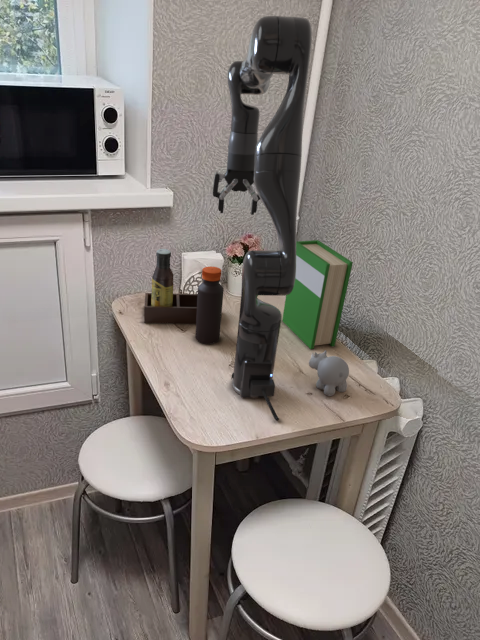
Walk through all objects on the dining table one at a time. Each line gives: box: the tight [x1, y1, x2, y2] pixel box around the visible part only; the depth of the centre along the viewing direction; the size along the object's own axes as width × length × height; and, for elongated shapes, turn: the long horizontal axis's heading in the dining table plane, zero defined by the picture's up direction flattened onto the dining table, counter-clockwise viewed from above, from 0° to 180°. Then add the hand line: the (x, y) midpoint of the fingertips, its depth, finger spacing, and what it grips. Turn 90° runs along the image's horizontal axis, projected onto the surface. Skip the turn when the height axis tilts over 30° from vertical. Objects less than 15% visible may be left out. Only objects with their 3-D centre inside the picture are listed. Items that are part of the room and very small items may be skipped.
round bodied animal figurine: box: [308, 349, 350, 397], centre depth 125 cm, size 7×12×8 cm, turn 24°
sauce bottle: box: [151, 248, 174, 307], centre depth 150 cm, size 6×6×20 cm
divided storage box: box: [143, 292, 198, 325], centre depth 154 cm, size 10×19×5 cm, turn 92°
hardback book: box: [281, 239, 354, 350], centre depth 143 cm, size 18×7×24 cm, turn 18°
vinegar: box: [194, 265, 224, 345], centre depth 139 cm, size 7×7×20 cm
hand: (237, 213), depth 146 cm, fingers open, 8 cm apart
